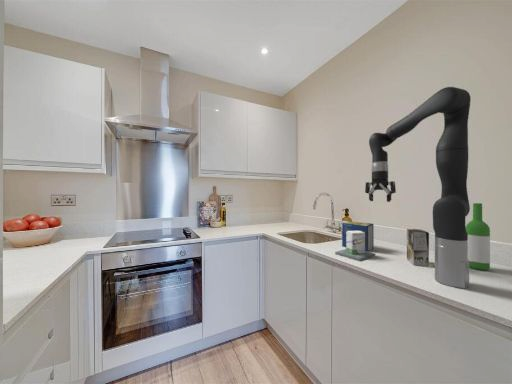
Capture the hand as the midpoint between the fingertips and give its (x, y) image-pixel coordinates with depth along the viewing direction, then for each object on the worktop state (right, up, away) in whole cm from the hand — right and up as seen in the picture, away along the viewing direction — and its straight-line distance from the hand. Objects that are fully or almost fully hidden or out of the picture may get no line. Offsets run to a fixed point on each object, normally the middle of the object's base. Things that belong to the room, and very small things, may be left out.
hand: (379, 201), depth 109 cm
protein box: (-2, -30, +21) cm, 37 cm away
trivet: (-11, -30, +5) cm, 32 cm away
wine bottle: (+37, -31, -14) cm, 50 cm away
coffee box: (+14, -30, -7) cm, 34 cm away
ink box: (-10, -29, +5) cm, 31 cm away
